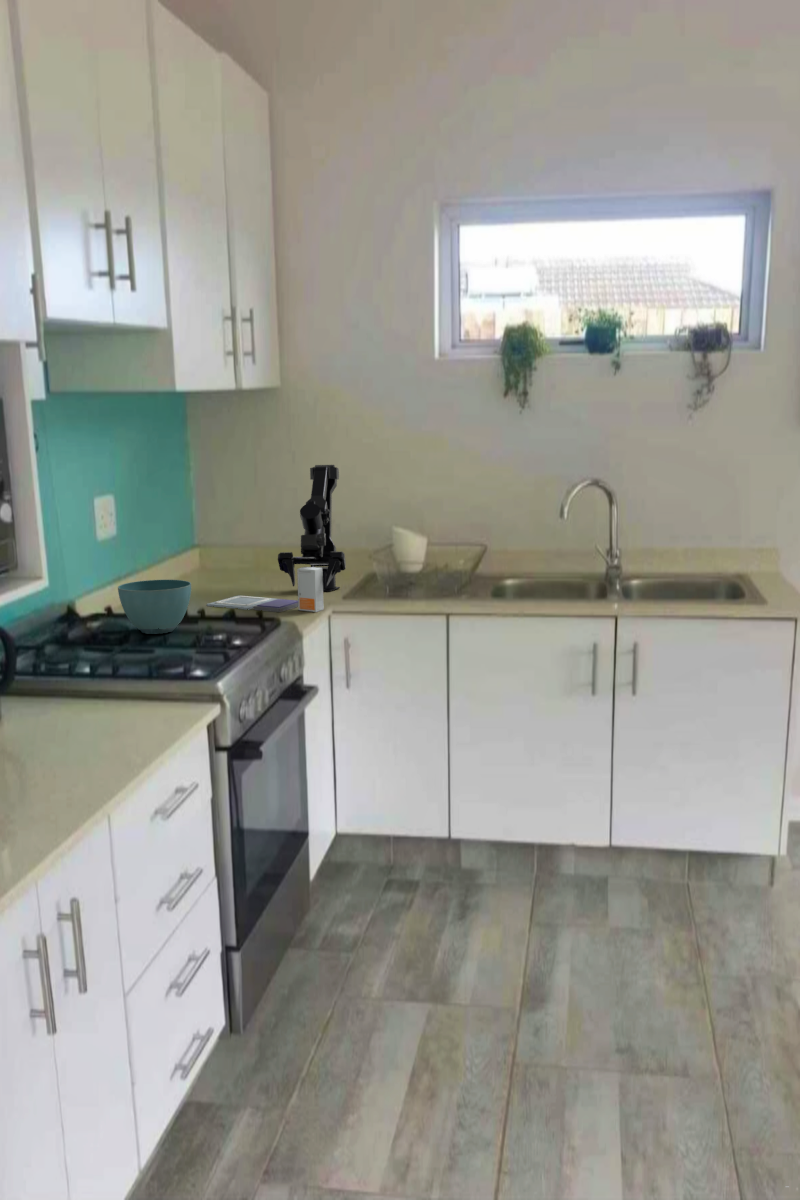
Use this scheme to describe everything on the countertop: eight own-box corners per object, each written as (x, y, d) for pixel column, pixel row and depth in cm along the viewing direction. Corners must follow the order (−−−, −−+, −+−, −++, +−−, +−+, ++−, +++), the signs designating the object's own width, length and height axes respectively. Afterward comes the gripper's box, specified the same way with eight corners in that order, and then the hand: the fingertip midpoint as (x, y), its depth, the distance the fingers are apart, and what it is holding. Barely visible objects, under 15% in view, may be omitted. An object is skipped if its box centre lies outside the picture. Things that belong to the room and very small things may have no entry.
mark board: (238, 597, 313) (238, 594, 313) (279, 600, 306) (279, 597, 306) (206, 605, 300) (206, 602, 300) (248, 609, 293) (248, 606, 293)
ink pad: (278, 602, 303) (278, 598, 303) (304, 604, 299) (303, 600, 299) (253, 609, 293) (253, 605, 293) (279, 612, 289) (279, 607, 288)
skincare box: (297, 610, 290) (296, 568, 288) (306, 608, 294) (304, 566, 292) (316, 612, 287) (314, 569, 285) (324, 609, 291) (323, 567, 289)
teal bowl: (134, 624, 276) (130, 579, 273) (201, 624, 274) (198, 578, 272) (111, 639, 258) (107, 591, 256) (183, 639, 257) (180, 590, 254)
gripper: (277, 523, 291) (272, 568, 282) (343, 522, 290) (340, 567, 281) (282, 548, 300) (278, 592, 291) (347, 547, 299) (344, 591, 290)
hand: (309, 585), depth 288 cm, fingers open, 9 cm apart
